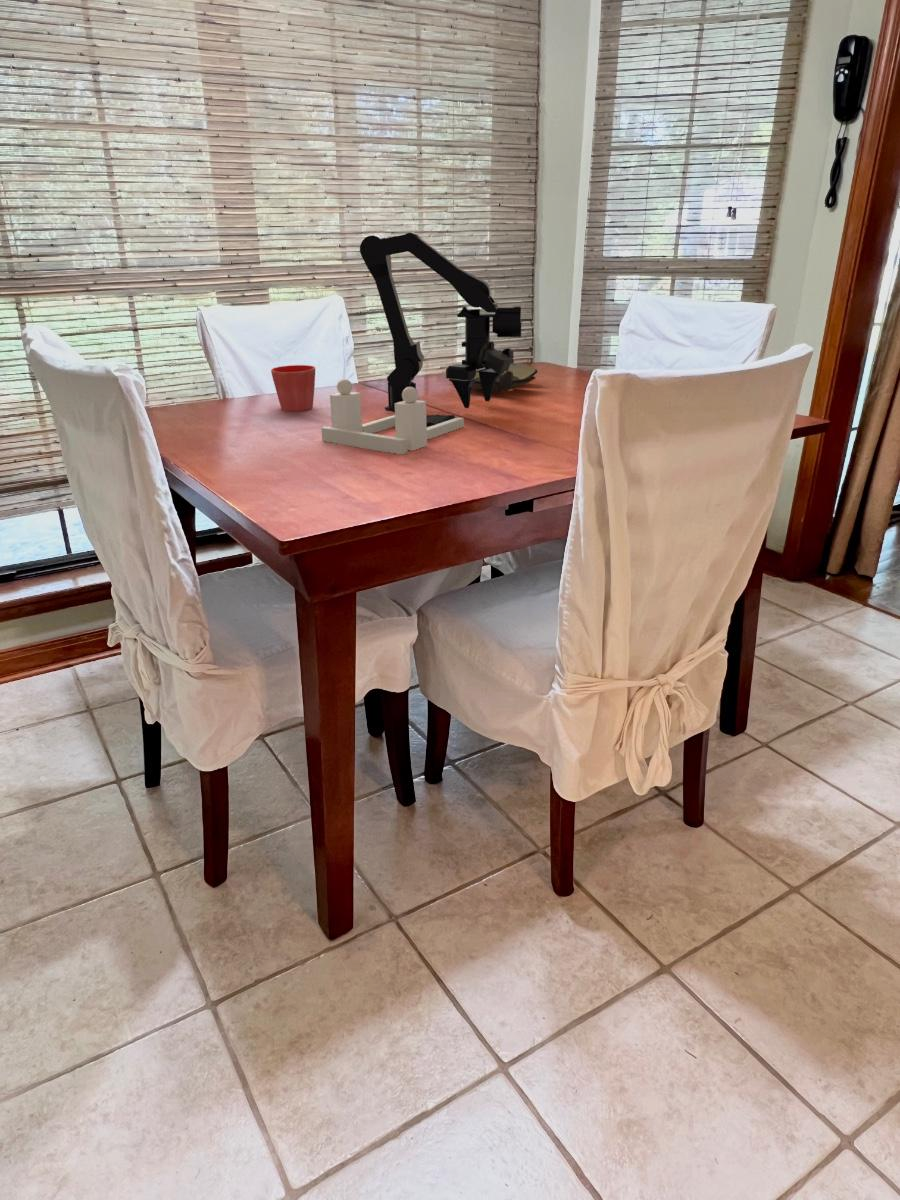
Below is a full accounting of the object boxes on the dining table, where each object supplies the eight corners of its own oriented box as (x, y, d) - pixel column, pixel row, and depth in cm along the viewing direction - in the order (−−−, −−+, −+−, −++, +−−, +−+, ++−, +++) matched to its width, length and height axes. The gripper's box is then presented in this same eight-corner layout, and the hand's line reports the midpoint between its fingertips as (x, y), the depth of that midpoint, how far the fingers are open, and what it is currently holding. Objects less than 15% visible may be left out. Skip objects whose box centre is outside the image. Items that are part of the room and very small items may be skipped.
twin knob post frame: (322, 441, 170) (317, 382, 165) (399, 417, 190) (397, 365, 185) (402, 454, 159) (399, 392, 154) (474, 428, 179) (475, 372, 174)
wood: (427, 418, 191) (426, 405, 190) (457, 419, 189) (456, 406, 188) (390, 440, 172) (389, 426, 171) (422, 442, 170) (422, 428, 169)
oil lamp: (543, 382, 231) (544, 354, 228) (526, 402, 205) (526, 371, 201) (466, 379, 236) (466, 352, 233) (440, 399, 210) (439, 369, 207)
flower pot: (266, 411, 198) (261, 370, 194) (290, 402, 207) (286, 363, 203) (303, 414, 195) (299, 372, 190) (326, 405, 204) (323, 365, 200)
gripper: (485, 344, 179) (484, 415, 186) (527, 335, 193) (525, 401, 200) (443, 340, 185) (444, 410, 191) (487, 332, 199) (486, 396, 205)
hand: (477, 404), depth 197 cm, fingers open, 9 cm apart
